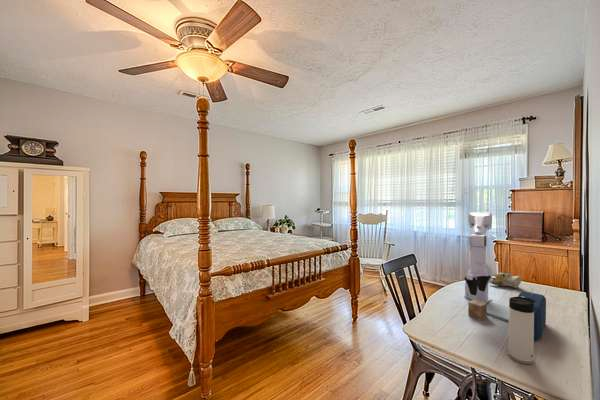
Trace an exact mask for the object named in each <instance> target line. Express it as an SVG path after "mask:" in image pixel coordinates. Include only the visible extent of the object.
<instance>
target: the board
mask: <svg viewBox="0 0 600 400" xmlns="http://www.w3.org/2000/svg"><path fill="white" fill-rule="evenodd" d="M487 316H490V317H493V318H496V319H499V320H502V321H504V322H508V323H509V306H506V305H503V304H500V303H497V302H494V301H492V302H491V301H490V302H488V303H487Z"/></svg>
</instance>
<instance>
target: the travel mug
mask: <svg viewBox="0 0 600 400" xmlns="http://www.w3.org/2000/svg"><path fill="white" fill-rule="evenodd" d="M508 299H509V300H508V301H509V303H508V305H509V306H508V307H509V322H508V356H509V358H510V359H511V360H513V361H514V362H515V363H519V364H520V365H521V364H522V365H533V364H534V356H535V355H534V352H535V351H534V346H535V342H534V341H535V339H534V303H535V300H533V299H531V298H525V297H518V296H512V297H509V298H508Z"/></svg>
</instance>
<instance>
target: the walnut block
mask: <svg viewBox="0 0 600 400" xmlns="http://www.w3.org/2000/svg"><path fill="white" fill-rule="evenodd" d="M467 304H468V317H471V318H475V319H476V320H479V321H481V320H482V321H483V319H485V318H487V316H488V315H487V304H488V302H487V303H484V302H480V301H477V300H472V299H471V300H470V301H468V302H467Z"/></svg>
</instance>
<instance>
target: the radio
mask: <svg viewBox="0 0 600 400" xmlns="http://www.w3.org/2000/svg"><path fill="white" fill-rule="evenodd" d="M517 297H525V298H531V299H533V300H535V303H534V341H535V340H536V341H539V340H540V339H542V336H543V332H544V329H545V327H546V323H547V321H546V319H547V298H546V297H545V295H543V294H540V293H536V292H532V291H531V292H530V291H525V290H522V291H521V292H519V294H518V295H517Z"/></svg>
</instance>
